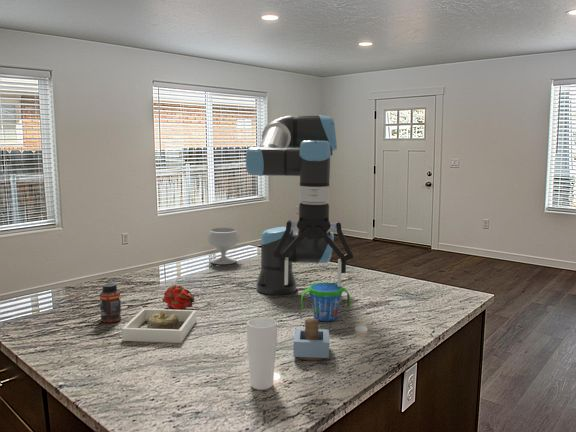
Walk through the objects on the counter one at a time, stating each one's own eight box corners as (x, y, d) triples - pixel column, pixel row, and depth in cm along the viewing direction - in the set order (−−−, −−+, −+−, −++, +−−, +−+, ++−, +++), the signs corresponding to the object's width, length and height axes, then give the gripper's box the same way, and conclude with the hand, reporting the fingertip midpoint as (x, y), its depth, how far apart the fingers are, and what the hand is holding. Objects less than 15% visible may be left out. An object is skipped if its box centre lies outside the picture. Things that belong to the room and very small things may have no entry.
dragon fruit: (165, 309, 166) (193, 320, 161) (151, 301, 159) (180, 312, 153) (177, 286, 169) (204, 297, 163) (164, 277, 162) (193, 288, 156)
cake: (175, 336, 141) (174, 319, 140) (141, 336, 141) (140, 319, 140) (184, 321, 150) (183, 305, 149) (151, 321, 151) (150, 304, 149)
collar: (295, 342, 133) (295, 328, 132) (328, 343, 133) (328, 329, 132) (293, 356, 124) (293, 341, 124) (328, 358, 124) (329, 343, 123)
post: (295, 345, 133) (295, 314, 132) (328, 347, 133) (328, 315, 131) (293, 360, 124) (293, 326, 123) (328, 361, 124) (329, 327, 122)
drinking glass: (246, 378, 114) (246, 317, 112) (275, 377, 115) (276, 316, 113) (246, 393, 108) (246, 328, 106) (277, 392, 108) (278, 327, 106)
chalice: (203, 264, 220) (203, 232, 218) (213, 257, 234) (213, 226, 232) (234, 266, 218) (233, 233, 216) (242, 259, 232) (242, 228, 229)
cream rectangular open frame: (143, 319, 152) (143, 308, 151) (196, 321, 151) (196, 310, 150) (122, 340, 135) (121, 328, 135) (181, 342, 134) (181, 330, 134)
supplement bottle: (125, 318, 153) (124, 282, 151) (113, 324, 147) (111, 288, 146) (109, 315, 155) (108, 281, 153) (96, 322, 149) (95, 286, 148)
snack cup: (300, 323, 150) (301, 291, 148) (300, 311, 160) (300, 281, 159) (351, 324, 150) (352, 292, 148) (348, 312, 160) (348, 282, 159)
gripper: (263, 203, 120) (262, 287, 123) (365, 205, 118) (362, 290, 122) (266, 199, 127) (266, 278, 131) (362, 201, 126) (360, 281, 129)
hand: (312, 284), depth 126 cm, fingers open, 13 cm apart
